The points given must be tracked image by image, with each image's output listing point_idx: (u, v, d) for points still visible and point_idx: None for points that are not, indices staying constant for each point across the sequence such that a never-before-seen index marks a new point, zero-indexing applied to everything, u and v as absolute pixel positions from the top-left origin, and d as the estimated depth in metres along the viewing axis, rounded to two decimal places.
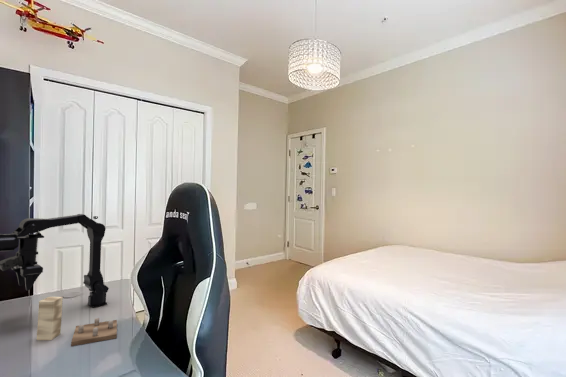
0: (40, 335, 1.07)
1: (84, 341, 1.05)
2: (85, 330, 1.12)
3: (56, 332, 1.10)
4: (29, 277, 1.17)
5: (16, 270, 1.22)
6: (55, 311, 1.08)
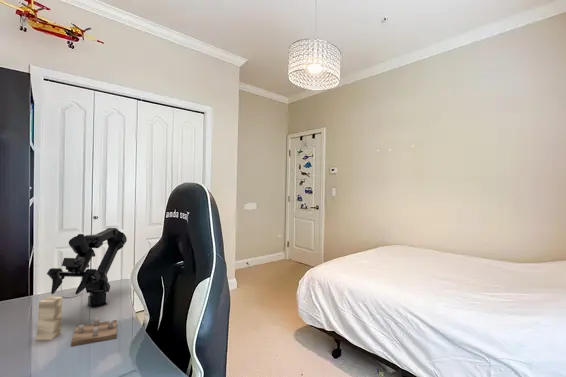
0: (40, 334, 1.07)
1: (84, 341, 1.05)
2: (85, 330, 1.12)
3: (56, 332, 1.10)
4: (85, 281, 1.21)
5: (57, 276, 1.20)
6: (55, 311, 1.08)
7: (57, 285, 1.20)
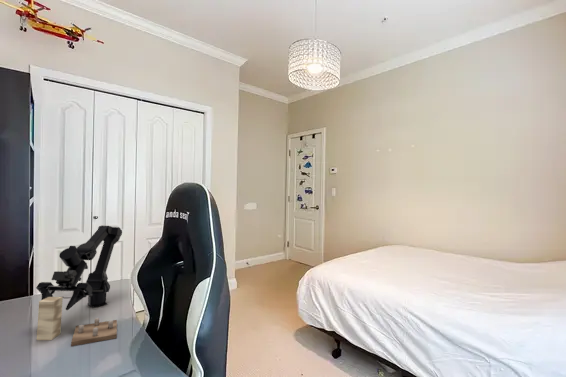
0: (40, 334, 1.07)
1: (84, 341, 1.05)
2: (85, 330, 1.12)
3: (56, 332, 1.10)
4: (76, 296, 1.16)
5: (46, 291, 1.14)
6: (55, 311, 1.08)
7: None
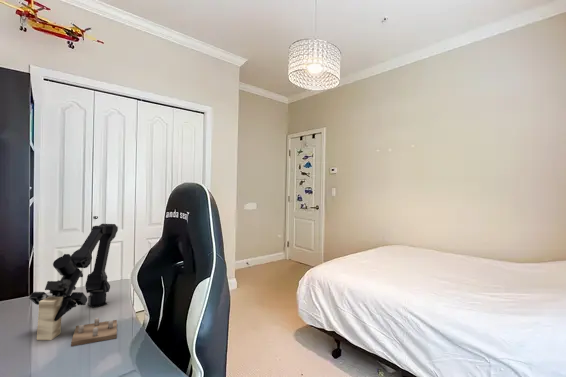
0: (40, 334, 1.07)
1: (84, 341, 1.05)
2: (85, 330, 1.12)
3: (56, 332, 1.10)
4: None
5: None
6: (55, 311, 1.08)
7: None
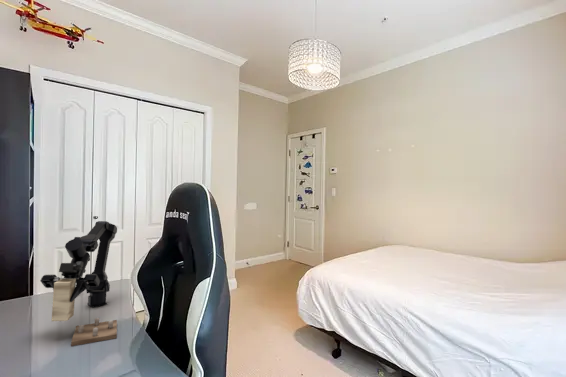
0: (55, 316, 1.07)
1: (84, 341, 1.05)
2: (85, 330, 1.12)
3: (70, 313, 1.11)
4: (79, 288, 1.13)
5: None
6: (70, 292, 1.09)
7: None
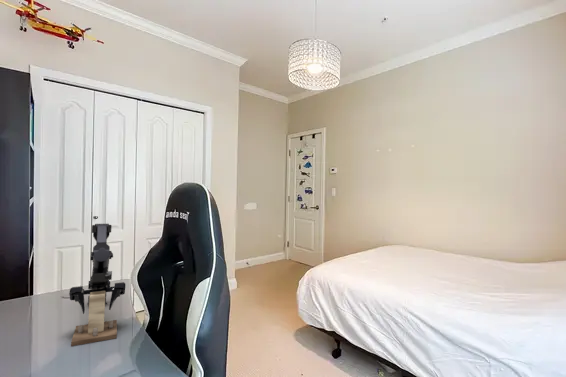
0: (91, 328, 1.10)
1: (84, 341, 1.05)
2: (85, 330, 1.12)
3: None
4: None
5: (83, 295, 1.13)
6: (104, 304, 1.13)
7: None
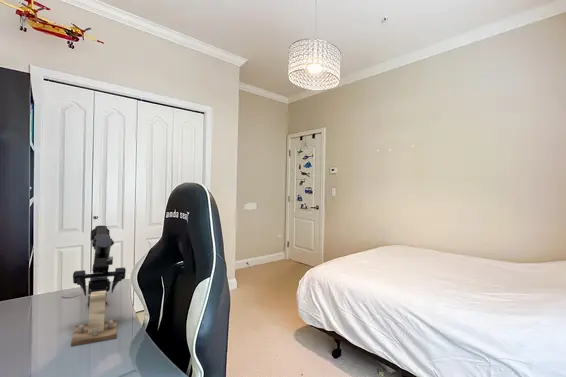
0: (91, 328, 1.10)
1: (84, 341, 1.05)
2: (85, 330, 1.12)
3: None
4: None
5: None
6: None
7: (85, 287, 1.19)
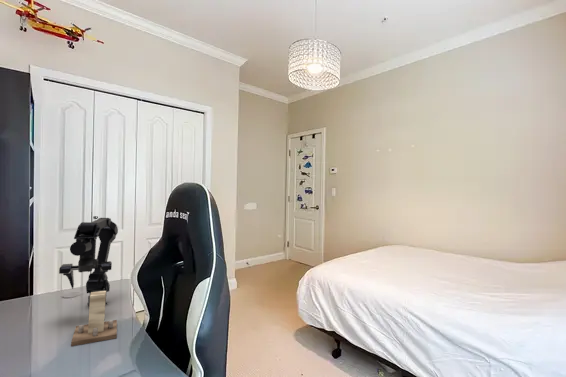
0: (91, 328, 1.10)
1: (84, 341, 1.05)
2: (85, 330, 1.12)
3: None
4: None
5: (71, 274, 1.24)
6: None
7: (73, 278, 1.26)
